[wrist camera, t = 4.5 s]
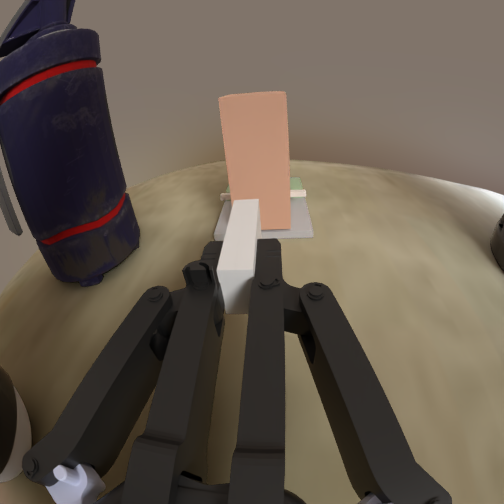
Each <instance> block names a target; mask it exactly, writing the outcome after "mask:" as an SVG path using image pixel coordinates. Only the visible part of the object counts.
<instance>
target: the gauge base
mask: <svg viewBox="0 0 504 504" xmlns="http://www.w3.org/2000/svg"><path fill="white" fill-rule="evenodd" d="M290 190H303V187H302V183H301V180H300V177H290ZM226 193H230V187H229V184H228V187H227V190H226ZM290 205H291V229H270V230H261V234H262V239H269V238H277V239H280V238H313V228H312V224H311V219H310V215H309V211H308V207H307V203H306V200H305V197H290ZM231 210H232V203H231V200H225V202H224V205H223V208H222V211H221V214H220V217H219V220H218V223H217V226H216V229H215V232H214V238H215V241H224V238H225V234H226V230H227V226H228V222H229V218H230V214H231Z"/></svg>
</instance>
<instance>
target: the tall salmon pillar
mask: <svg viewBox="0 0 504 504" xmlns="http://www.w3.org/2000/svg"><path fill="white" fill-rule="evenodd" d="M219 107H220V115H221V123H222V132H223V140H224V148H225V156H226V164H227V172H228V180H229V187H230V193H221V194H220V199H221V200H231V203H232V206H233V203H234V200H246V199H259V208H260V221H261V230H270V229H291V205H290V197H306V190H290V164H289V139H288V117H287V100H286V93H285V92H284V91H271V92H254V93H243V94H242V93H241V94H231V95H226V96H223V97H220V98H219Z"/></svg>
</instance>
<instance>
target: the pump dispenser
mask: <svg viewBox="0 0 504 504" xmlns="http://www.w3.org/2000/svg"><path fill="white" fill-rule="evenodd" d="M31 442H32V435H31V426H30V421H29V417H28V413H27V410H26V408H25V405H24V403H23V401H22V399H21V397H20V395H19V393H18V392H17V390H16V388H15V387H14V386H13V384H12V381H11V379H10V377H9V375H8V373H7V372H6V371H5V370H4V368H3V367H2V366H1V365H0V482H6V481H9V480H12V479H14V478H15V477H17V476H18V475H19V474H20V473H21V472H22V471H23V468H22V459H23V456H24V455H25V453H26V452H27V451H28V450H30V449H31Z"/></svg>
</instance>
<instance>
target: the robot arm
mask: <svg viewBox="0 0 504 504" xmlns="http://www.w3.org/2000/svg"><path fill="white" fill-rule="evenodd" d="M491 248H492V251H493V254H494V256H495V258H496V260H497V262H498V263H499V265H500V266H501V268H502V269H503V270H504V214H503V216H502V217H501V219H500V220H499V221H498V223H497V225H496V227H495V230H494V233H493V236H492V238H491ZM182 272H183V275H184V278H185V281H186V284H187V285H186V287H185V288H183V289H180V290H177V291H173V292H169V290H168V289H167V288H166V287H164V286H155V287H152V288H150V289H148V290H147V291H146V292H145V293H144V294H143V295H142V297H141V298H140V299H139V301H138V302H137V303H136V305H135V306H134V307H133V309H132V310H131V311H130V313H129V314H128V315H127V317H126V318H125V319H124V321H123V322H122V324H121V325H120V326H119V328H118V329H117V331H116V332H115V333H114V335H113V336H112V338H111V339H110V340H109V342H108V343H107V345H106V346H105V348H104V349H103V350H102V352H101V353H100V355H99V356H98V358H97V359H96V361H95V362H94V364H93V365H92V367H91V368H90V370H89V371H88V373H87V374H86V376H85V377H84V379H83V380H82V382H81V384H80V385H79V387H78V388H77V390H76V391H75V393H74V395H73V396H72V398H71V399H70V401H69V403H68V404H67V406H66V407H65V409H64V411H63V412H62V414H61V416H60V417H59V419H58V421H57V423H56V424H55V426H54V428H53V429H52V431H51V432H50V433H48V434H47V435H46V436H45V437H44V438H43V439H41V440H40V441H39V442H38V443H37V444H35V445H34V446H33V447H32V448H31V449H30V450H28V451H27V452H26V453H25V455H24V456H23V459H22V468H23V471H24V474H25V475H26V477H27V478H28V479H30V480H31V481H33V482H36V483H38V484H41V485H44V486H45V487H46V488H47V490H48V491H49V493H50V495H51V496H52V498H53V499H54V501H55V502H56V504H306V503H305V502H304V501H303V500H302V499H301V498H299V497H298V496H297V495H295V494H294V493H292V492H290V491H288V490H286V489H284V476H285V342H284V331H286V332H290V333H294V334H298V338H299V341H300V344H301V346H302V349H303V352H304V354H305V357H306V360H307V363H308V365H309V368H310V371H311V373H312V376H313V379H314V382H315V384H316V387H317V390H318V393H319V395H320V398H321V401H322V404H323V406H324V409H325V412H326V415H327V418H328V420H329V423H330V426H331V429H332V432H333V434H334V437H335V440H336V443H337V446H338V449H339V452H340V454H341V457H342V460H343V463H344V466H345V469H346V472H347V475H348V477H349V480H350V482H351V484H352V487H353V488H354V490H355V492H356V493H357V495H358V497H359V498H360V499H361V501H360V502H359V503H358V504H452V498H451V496H450V494H449V493H448V492H447V491H446V490H445V489H444V488H443V487H442V486H441V485H440V484H439V483H437V482H436V481H435V480H434V479H433V478H432V477H431V476H430V475H429V474H428V473H427V472H426V471H425V470H424V469H423V468H422V467H421V466H420V465H418V464H417V463H416V462H415V459H414V457H413V455H412V452H411V450H410V447H409V445H408V443H407V441H406V438H405V436H404V434H403V431H402V429H401V427H400V425H399V422H398V420H397V418H396V416H395V414H394V412H393V409H392V407H391V405H390V403H389V401H388V399H387V397H386V395H385V393H384V390H383V388H382V386H381V384H380V382H379V380H378V378H377V376H376V374H375V372H374V370H373V368H372V366H371V364H370V362H369V360H368V358H367V356H366V354H365V352H364V350H363V349H362V347H361V345H360V343H359V341H358V339H357V337H356V335H355V333H354V331H353V330H352V328H351V326H350V324H349V322H348V320H347V318H346V317H345V315H344V313H343V311H342V309H341V307H340V306H339V304H338V302H337V300H336V298H335V297H334V295H333V293H332V291H331V290H330V289H329V287H328V286H326V285H324V284H322V283H317V282H314V283H308V284H306V285H304V286H303V287H302V288H296V287H293V286H290V285H289V284H287V283H286V282H285V281H284V279H283V277H282V261H281V244H280V242H279V241H278V240H277V238H269V239H262V234H261V221H260V208H259V199H246V200H234V203H233V206H232V210H231V214H230V218H229V222H228V226H227V230H226V234H225V238H224V241H210V242H209V243H208V244H207V245H206V246H205V247H204V250H203V253H202V256H201V260H199V261H193V262H191V263H189V264H187V265H186V266H185V267H184V268H183V270H182ZM224 308H225V311H226V314H249V315H248V326H247V337H246V348H245V359H244V370H243V381H242V392H241V403H240V414H239V425H238V436H237V445H236V449H235V451H234V453H233V457H232V465H231V475H230V483H226V484H218V485H208V484H206V480H207V471H208V464H207V459H206V452H207V444H208V436H209V429H210V422H211V414H212V407H213V400H214V393H215V386H216V379H217V372H218V365H219V359H220V352H221V345H222V339H223V332H224V326H225V319H224V315H223V314H224ZM156 384H157V385H156ZM155 386H156V389H155V393H154V397H153V400H152V404H151V408H150V412H149V416H148V421H147V425H146V429H145V432H144V433H143V434H142V435H140V436H138V437H137V438H136V440H135V441H134V444H133V446H132V451H131V455H130V459H129V464H128V469H127V474H126V479H125V481H124V482H122V483H121V484H120V485H118V486H117V487H116V488H114V489H113V490H112V491H110V492H109V493H107V494H106V495H105V496H103V497H102V498H100V499H99V500H97V497H98V495H99V493H100V492H103V491H104V490H105V488H106V487H105V483H104V482H103V481H102V480H101V478H102V477H103V476H104V475H105V474H106V473H107V472H108V471H109V469H110V468H111V467H112V465H113V464H114V462H115V460H116V459H117V457H118V455H119V453H120V451H121V449H122V448H123V446H124V444H125V442H126V440H127V438H128V436H129V434H130V432H131V430H132V429H133V427H134V425H135V423H136V421H137V419H138V417H139V416H140V414H141V412H142V410H143V408H144V406H145V404H146V403H147V401H148V399H149V397H150V395H151V393H152V392H153V390H154V388H155ZM96 500H97V501H96Z"/></svg>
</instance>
